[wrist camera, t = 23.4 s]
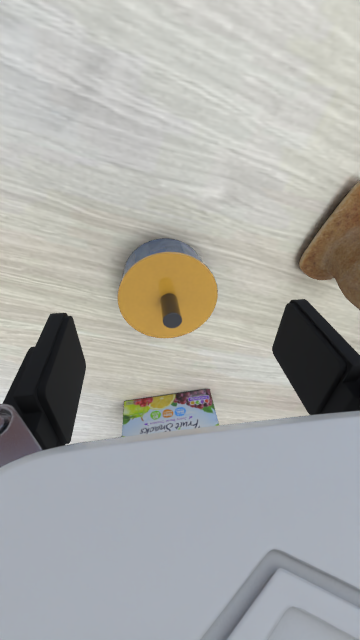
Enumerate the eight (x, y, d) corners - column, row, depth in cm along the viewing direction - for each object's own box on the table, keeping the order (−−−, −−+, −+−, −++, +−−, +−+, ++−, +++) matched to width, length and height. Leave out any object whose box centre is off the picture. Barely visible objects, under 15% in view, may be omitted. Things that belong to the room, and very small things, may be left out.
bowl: (115, 301, 45) (112, 323, 40) (136, 225, 38) (136, 241, 33) (186, 317, 49) (191, 340, 44) (217, 252, 42) (228, 270, 37)
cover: (108, 323, 40) (104, 350, 36) (133, 235, 33) (132, 254, 28) (193, 341, 45) (200, 367, 40) (232, 267, 37) (246, 288, 33)
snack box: (209, 386, 63) (226, 447, 51) (209, 400, 67) (225, 459, 55) (123, 400, 62) (119, 465, 50) (127, 413, 65) (125, 477, 53)
